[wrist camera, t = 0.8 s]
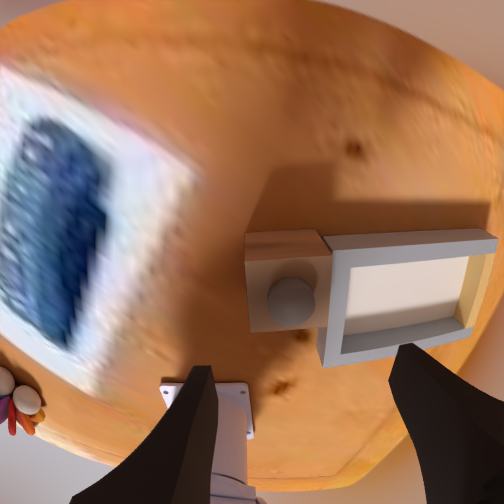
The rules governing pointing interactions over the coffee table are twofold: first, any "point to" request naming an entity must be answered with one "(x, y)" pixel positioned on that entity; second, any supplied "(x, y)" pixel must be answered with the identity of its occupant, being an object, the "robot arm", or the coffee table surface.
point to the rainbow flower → (19, 404)
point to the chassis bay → (403, 291)
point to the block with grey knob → (287, 280)
